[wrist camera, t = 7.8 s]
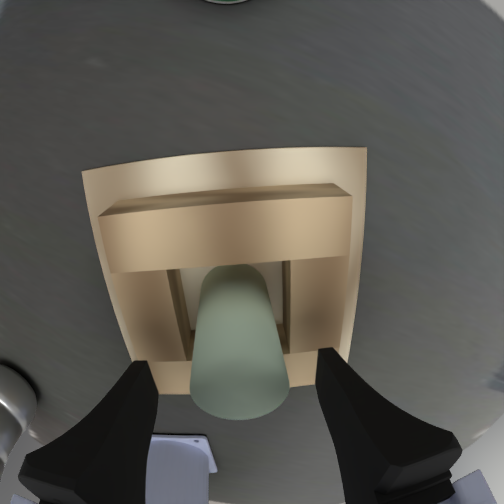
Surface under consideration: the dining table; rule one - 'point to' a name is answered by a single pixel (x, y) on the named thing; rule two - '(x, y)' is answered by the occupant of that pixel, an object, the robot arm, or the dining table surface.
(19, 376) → the plastic bottle
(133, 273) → the socket block
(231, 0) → the supplement bottle
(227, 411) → the dowel
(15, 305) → the dining table surface
